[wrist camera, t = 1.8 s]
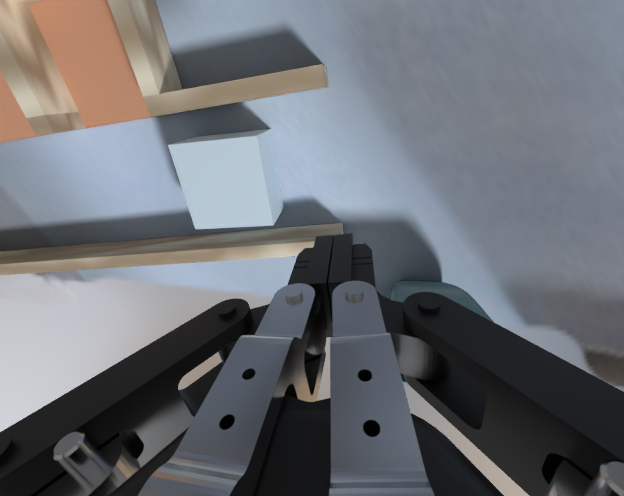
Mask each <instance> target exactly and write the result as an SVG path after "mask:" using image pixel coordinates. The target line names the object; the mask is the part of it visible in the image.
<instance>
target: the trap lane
mask: <svg viewBox="0 0 624 496" xmlns="http://www.w3.org/2000/svg"><path fill="white" fill-rule="evenodd" d="M327 87H328V78H327V68H326V67H325V66H324V65H323V64H319V65H314V66H308V67H303V68H297V69H292V70H287V71H281V72H276V73H270V74H265V75H259V76H254V77H249V78H243V79H238V80H232V81H227V82H221V83H216V84H211V85H205V86H200V87H194V88H189V89H183V88H182V85H181V82H180V79H179V76H178V72H177V69H176V66H175V63H174V59H173V56H172V53H171V50H170V47H169V43H168V40H167V37H166V34H165V30H164V27H163V24H162V21H161V17H160V14H159V11H158V8H157V5H156V1H155V0H0V143H1V142H7V141H13V140H19V139H25V138H31V137H36V136H42V135H48V134H54V133H60V132H66V131H72V130H78V129H84V128H90V127H96V126H102V125H108V124H113V123H119V122H125V121H131V120H137V119H143V118H149V117H155V116H161V115H167V114H173V113H179V112H185V111H190V110H196V109H202V108H208V107H214V106H220V105H226V104H232V103H238V102H244V101H250V100H256V99H262V98H268V97H273V96H279V95H285V94H291V93H297V92H303V91H309V90H315V89H321V88H327ZM336 234H344V230H343V223H333V224H321V225H309V226H297V227H285V228H273V229H261V230H249V231H237V232H225V233H213V234H201V235H189V236H177V237H165V238H154V239H142V240H130V241H118V242H106V243H94V244H82V245H70V246H58V247H46V248H34V249H22V250H10V251H0V275H9V274H25V273H40V272H56V271H71V270H86V269H102V268H117V267H133V266H148V265H163V264H179V263H194V262H210V261H225V260H240V259H256V258H271V257H286V256H298V254H299V253H300V252H301V251H302V250H303V249H304V248H313V247H314V243H315V239H316V236H324V235H334V236H335V235H336Z"/></svg>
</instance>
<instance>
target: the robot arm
mask: <svg viewBox="0 0 624 496" xmlns="http://www.w3.org/2000/svg"><path fill="white" fill-rule="evenodd" d="M326 337H331V340H330V365H331V366H330V374H331V375H330V377H331V378H330V379H331V380H330V381H331V398H329V399H324V400H320V401H317V396H318V391H319V387H320V381H321V377H322V371H323V367H324V362H325V356H326V353H325V344H326ZM217 352H219V355H220V357H221V359H222V362H221V363H220V364H218V365H217V366H216V367H214V368H213V369H211V370H210V371H209V372H207V373H206V374H205V375H203V376H202V377H200V378H199V379H198V380H197V381H195V382H194V383H192V384H191V385H190V386H188V387H187V388H185V389H182V390H178V384H179V382H180V380H181V379H182V377H183V376H184V375H185V374H187V373H188V372H190V371H191V370H192V369H194V368H195V367H197V366H198V365H199V364H201V363H203V362H204V361H205V360H207V359H208V358H210V357H211V356H213V355H214V354H215V353H217ZM400 373H401V374H403V375H404V378H405V380H406V382H407V383H408V384H409V385H410V386H411V387H412V388H413V389H414V390H415V391H416V392H417V393H418V394H420V395H421V396H422V397H423V398H424V399H425V400H426V401H427V402H428V403H429V404H430V405H431V406H433V407H434V408H435V409H436V410H437V411H438V412H439V413H440V414H441V415H443V416H444V417H445V418H446V419H447V420H448V421H449V422H450V423H451V424H452V425H453V426H454V427H456V428H457V429H458V430H459V431H460V432H461V433H462V434H463V435H464V436H465V437H466V438H468V439H469V440H470V441H471V442H472V443H473V444H474V445H475V446H476V447H477V448H478V449H480V450H481V451H482V452H483V453H484V454H485V455H486V456H487V457H488V458H489V459H490V460H492V462H494V463H495V464H496V465H497V466H498V467H499V468H500V469H501V470H502V471H504V472H505V473H506V474H507V475H508V476H509V477H510V478H511V479H512V480H513V481H514V482H515V483H516V484H518V485H519V486H520V487H521V488H522V489H523V490H524V491H525V492H526V493H528V495H530V496H624V392H623V391H621V390H619V389H617V388H615V387H613V386H612V385H610V384H608V383H606V382H604V381H602V380H600V379H598V378H597V377H595V376H593V375H591V374H589V373H587V372H585V371H584V370H582V369H580V368H578V367H576V366H574V365H572V364H570V363H569V362H567V361H565V360H563V359H561V358H559V357H557V356H555V355H554V354H552V353H550V352H548V351H546V350H544V349H542V348H540V347H539V346H537V345H535V344H533V343H531V342H529V341H527V340H526V339H524V338H522V337H520V336H518V335H516V334H514V333H513V332H511V331H509V330H507V329H505V328H503V327H501V326H499V325H498V324H496V323H494V322H492V321H490V320H488V319H486V318H484V317H483V316H481V315H479V314H477V313H475V312H473V311H471V310H470V309H468V308H466V307H464V306H462V305H460V304H458V303H456V302H455V301H453V300H451V299H449V298H447V297H445V296H443V295H441V294H438V293H433V292H418V293H414V294H412V295H410V296H408V297H407V298H406V299H405V300H404V302H398V301H393V300H390V299H387V298H385V297H383V296H382V295H380V294H379V293H378V291H377V290H376V287H375V279H374V269H373V260H372V251H371V249H370V248H369V247H368V246H367V245H366V244H356V245H353V236H352V233H349V234H336V235H335V236H334V235H324V236H316V239H315V243H314V247H313V248H304V249H303V250H302V251H301V252H300V253H299V254H298V256H297V259H296V263H295V265H294V269H293V271H292V274H291V277H290V280H289V283H288V285H287V286H285V287H283V288H281V289H280V290H278V291H277V292H276V293H275V295H274V297H273V299H272V301H271V303H270V304H268V305H265V306H261V307H258V308H254V309H250V307H249V304H248V303H247V302H246V301H245V300H243V299H229V300H225V301H223V302H220V303H218V304H217V305H215V306H213V307H211V308H210V309H208V310H206V311H205V312H203V313H201V314H200V315H198V316H197V317H195V318H193V319H191V320H190V321H188V322H186V323H184V324H183V325H181V326H179V327H178V328H176V329H174V330H173V331H171V332H169V333H168V334H166V335H164V336H162V337H161V338H159V339H157V340H156V341H154V342H152V343H151V344H149V345H147V346H146V347H144V348H142V349H140V350H139V351H137V352H136V353H134V354H132V355H130V356H129V357H127V358H125V359H124V360H122V361H120V362H118V363H117V364H115V365H113V366H112V367H110V368H108V369H107V370H105V371H103V372H102V373H100V374H98V375H96V376H95V377H93V378H91V379H90V380H88V381H86V382H85V383H83V384H81V385H80V386H78V387H76V388H75V389H73V390H71V391H69V392H68V393H66V394H64V395H63V396H61V397H59V398H58V399H56V400H54V401H52V402H51V403H49V404H48V405H46V406H44V407H42V408H41V409H39V410H37V411H36V412H34V413H32V414H31V415H29V416H27V417H26V418H24V419H22V420H20V421H19V422H17V423H16V424H14V425H12V426H10V427H9V428H7V429H5V430H4V431H2V432H0V496H504V495H502V493H501V492H500V491H499V490H498V489H497V488H496V487H495V486H494V485H493V484H492V483H491V482H490V481H489V480H488V479H487V478H486V477H485V476H484V475H483V474H482V473H481V472H480V471H479V470H478V469H477V468H476V467H475V466H474V465H473V464H472V463H471V461H469V460H468V458H467V457H466V456H465V455H464V454H463V453H462V452H461V451H460V450H459V449H457V447H456V446H455V445H454V444H453V443H452V442H451V441H450V440H449V439H448V438H447V437H446V436H445V435H444V434H442V433H441V432H440V431H439V430H437V429H436V428H435V427H434V426H432V425H431V424H429V423H427V422H426V421H425V420H423V419H421V418H419V417H417V416H416V415H413V414H411V413H410V409H409V405H408V401H407V398H406V393H405V389H404V386H403V381H402V377H401V374H400Z"/></svg>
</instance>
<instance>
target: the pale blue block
mask: <svg viewBox="0 0 624 496" xmlns="http://www.w3.org/2000/svg"><path fill="white" fill-rule="evenodd" d="M168 147H169V150H170V153H171V156H172V159H173V162H174V165H175V168H176V171H177V175H178V178H179V181H180V184H181V187H182V190H183V193H184V196H185V199H186V202H187V205H188V208H189V211H190V215H191V218H192V221H193V224H194V227H195V229H213V228H233V227H253V226H273V225H274V224H275V222H276V220H277V219H278V217H279V215H280V213H281V212H282V210H283V208H284V204H283V198H282V192H281V185H280V179H279V173H278V167H277V161H276V155H275V149H274V142H273V136H272V130H271V129H264V130H255V131H245V132H236V133H226V134H217V135H207V136H198V137H192V138H189V139H186V140H183V141H179V142H176V143H173V144H169V145H168Z"/></svg>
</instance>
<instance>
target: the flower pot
mask: <svg viewBox="0 0 624 496" xmlns="http://www.w3.org/2000/svg"><path fill="white" fill-rule="evenodd" d="M418 292H433V293H438V294H441V295H443V296H445V297H447V298H449V299H451V300H453V301H455V302H456V303H458V304H460V305H462V306H464V307H466V308H468V309H470V310H471V311H473V312H475V313H477V314H479V315H481V316H483V317H484V318H486V319H488V320H490V321H492V320H491V318H490V317H489V316H488V315H487V314H486V312H485V311H484V310H483V309H482V308H481V307H480V305H479V304H478V303H477V302H476V301H475V300H474V299H473V298H472V297H471V296H470V295H469V294H468V293H467V292H465V291H464V290H462V289H461V288H459V287H457V286H454V285H451V284H447V283H443V282H427V281H399V282H397V283H396V284H395V285H394V286H393V287H392V290H391V294H390V300H393V301H398V302H404V300H405V299H406V298H407V297H408V296H410V295H412V294H414V293H418ZM492 322H493V321H492ZM400 374H401V373H400ZM401 377H402V381H403V384H406V385H409V384H408V383H407V382H406V380H405V378H404V375H403V374H401Z"/></svg>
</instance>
